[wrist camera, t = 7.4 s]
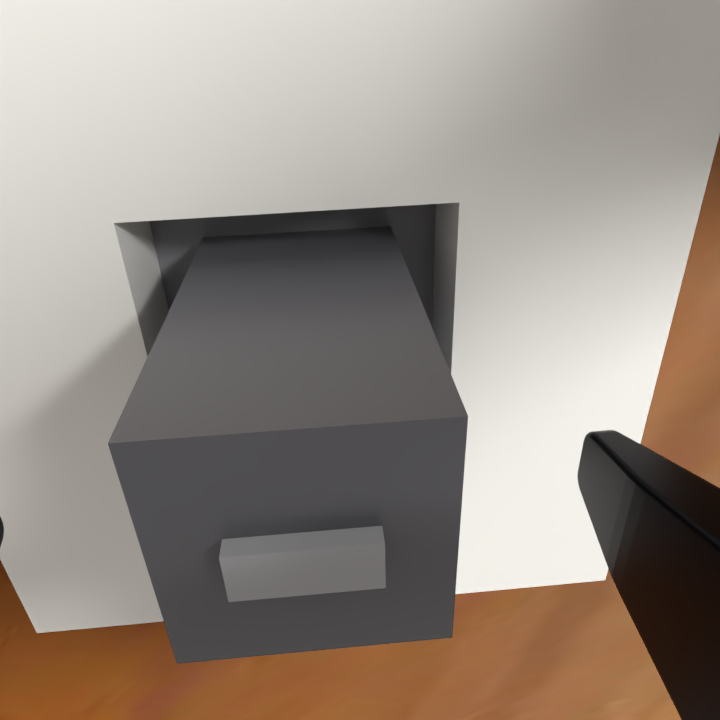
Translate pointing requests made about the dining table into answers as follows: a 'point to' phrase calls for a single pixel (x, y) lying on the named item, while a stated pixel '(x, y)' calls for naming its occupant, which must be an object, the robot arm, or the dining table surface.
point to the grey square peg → (296, 451)
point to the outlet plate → (345, 211)
